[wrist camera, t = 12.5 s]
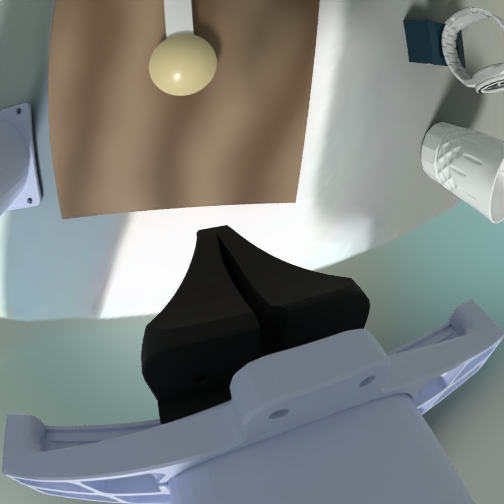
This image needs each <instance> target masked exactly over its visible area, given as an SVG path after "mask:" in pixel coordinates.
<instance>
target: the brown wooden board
mask: <svg viewBox="0 0 504 504" xmlns="http://www.w3.org/2000/svg"><path fill="white" fill-rule="evenodd" d="M319 1H320V0H191V5H192V19H193V32H194V35H196V36H199V37H201V38H203V39H204V40H206V41H207V42H208V43H209V44H210V45H211V46H212V48H213V49H214V51H215V54H216V58H217V67H216V71H215V74H214V76H213V78H212V80H211V81H210V82H209V83H208V84H207V85H206V86H205V87H204V88H203V89H201V90H200V91H198V92H196V93H193V94H190V95H185V96H176V95H171V94H168V93H165V92H163V91H162V90H160V89H159V88H158V87H157V86H156V85H155V84H154V82H153V81H152V79H151V76H150V73H149V62H150V58H151V55H152V53H153V51H154V50H155V49H156V47H157V46H158V45H159V44H160V43H161V42H163V41H164V40H166V27H165V12H164V0H56V1H55V7H54V14H53V21H52V29H51V38H50V50H49V69H48V109H49V128H50V141H51V151H52V160H53V168H54V175H55V182H56V188H57V194H58V200H59V205H60V210H61V215H62V219H68V218H77V217H85V216H94V215H104V214H113V213H124V212H134V211H146V210H158V209H171V208H185V207H200V206H218V205H238V204H262V203H295V202H296V195H297V189H298V182H299V175H300V168H301V161H302V154H303V147H304V140H305V132H306V124H307V117H308V109H309V100H310V92H311V83H312V74H313V65H314V56H315V46H316V36H317V25H318V13H319Z"/></svg>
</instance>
